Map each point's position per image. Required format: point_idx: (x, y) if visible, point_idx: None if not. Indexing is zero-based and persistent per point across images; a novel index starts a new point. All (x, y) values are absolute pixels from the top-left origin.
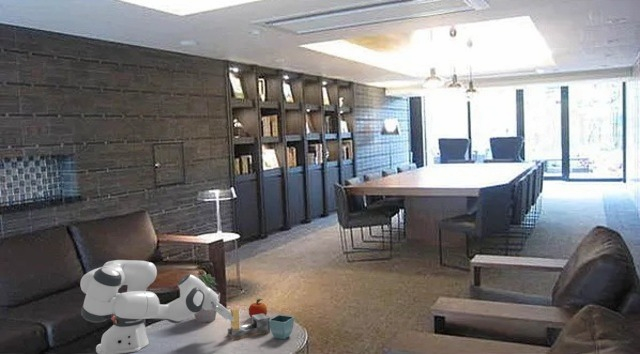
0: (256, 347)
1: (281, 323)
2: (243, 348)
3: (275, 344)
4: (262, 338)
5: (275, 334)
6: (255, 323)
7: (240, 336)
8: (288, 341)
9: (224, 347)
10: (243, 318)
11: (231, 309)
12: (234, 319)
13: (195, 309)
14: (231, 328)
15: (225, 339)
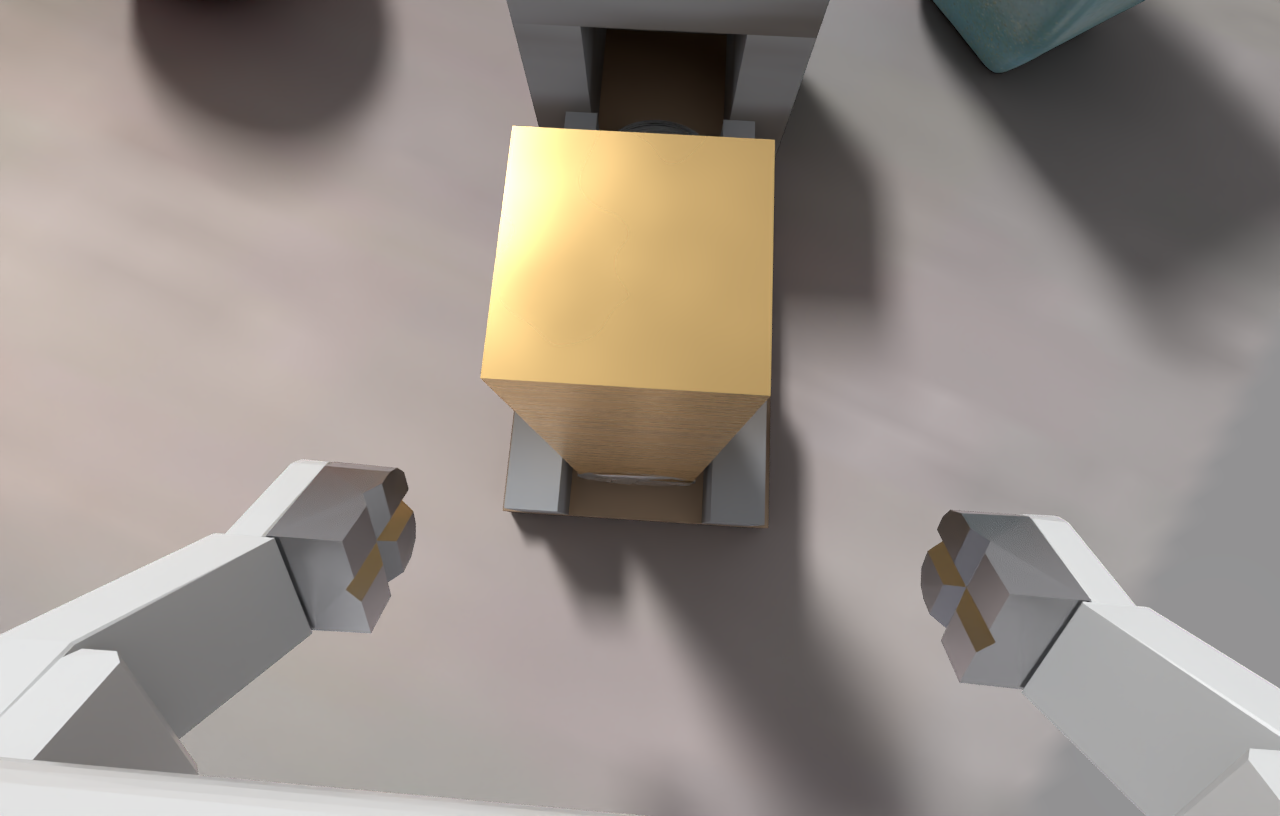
0: (1199, 390)
1: None
2: (1158, 552)
3: (1201, 161)
4: (920, 193)
5: (1074, 36)
6: (590, 65)
7: (769, 414)
8: (1172, 10)
9: (986, 778)
10: (68, 71)
11: (590, 375)
12: (1044, 522)
13: None
14: (598, 474)
15: (671, 619)
